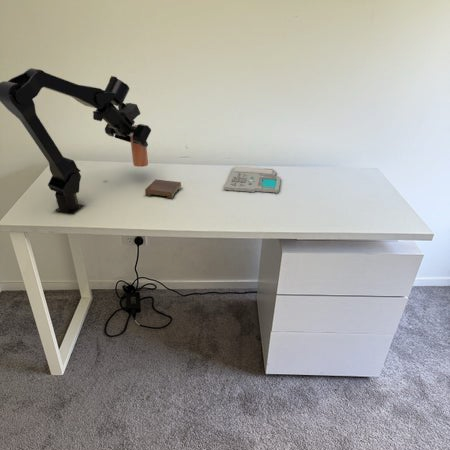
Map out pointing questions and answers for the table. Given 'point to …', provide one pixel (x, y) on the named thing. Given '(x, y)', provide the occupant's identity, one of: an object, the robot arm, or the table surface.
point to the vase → (138, 153)
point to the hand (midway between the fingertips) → (141, 144)
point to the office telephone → (253, 180)
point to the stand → (163, 188)
